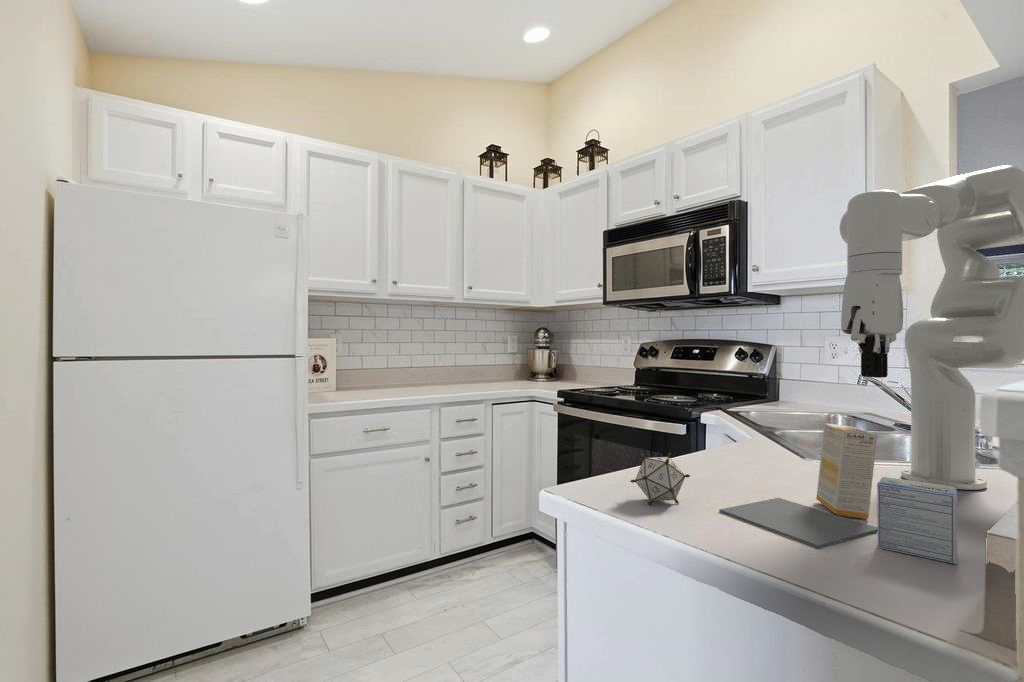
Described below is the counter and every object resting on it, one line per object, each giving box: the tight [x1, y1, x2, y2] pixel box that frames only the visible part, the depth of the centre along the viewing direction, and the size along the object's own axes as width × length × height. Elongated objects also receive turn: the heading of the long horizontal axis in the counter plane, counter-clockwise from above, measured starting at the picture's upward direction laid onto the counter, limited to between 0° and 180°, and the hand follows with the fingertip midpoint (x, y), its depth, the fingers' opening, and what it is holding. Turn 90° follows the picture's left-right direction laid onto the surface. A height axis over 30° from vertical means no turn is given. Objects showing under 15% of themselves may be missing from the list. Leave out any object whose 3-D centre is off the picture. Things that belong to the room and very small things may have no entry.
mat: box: [718, 497, 878, 549], centre depth 77 cm, size 14×16×1 cm
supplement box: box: [815, 423, 878, 520], centre depth 82 cm, size 8×5×13 cm, turn 168°
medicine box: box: [876, 476, 958, 565], centre depth 66 cm, size 8×4×9 cm, turn 48°
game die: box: [629, 452, 691, 506], centre depth 86 cm, size 9×8×10 cm
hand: (874, 376), depth 86 cm, fingers closed
